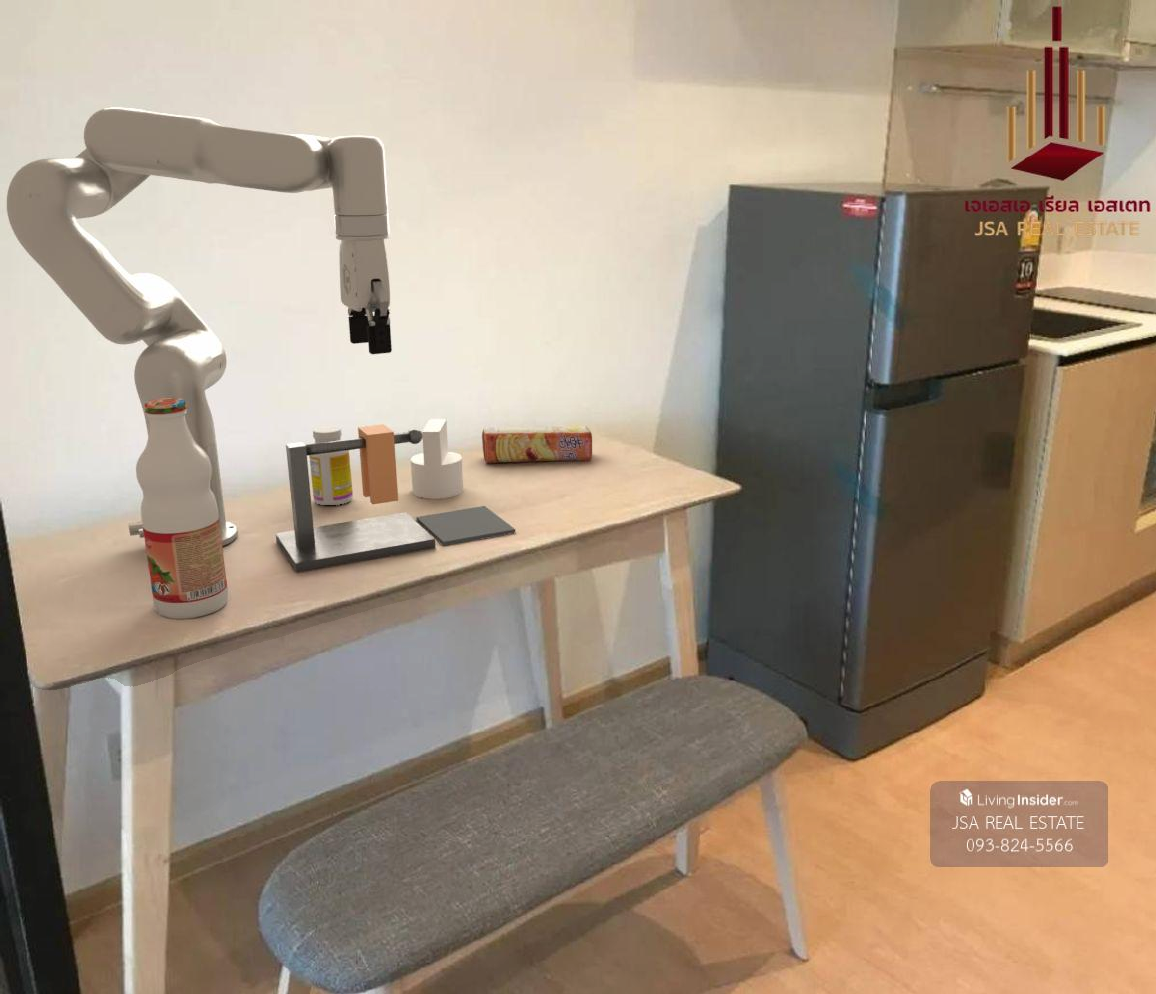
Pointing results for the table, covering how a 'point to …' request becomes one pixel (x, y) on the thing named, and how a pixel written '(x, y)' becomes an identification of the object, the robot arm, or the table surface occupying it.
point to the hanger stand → (347, 538)
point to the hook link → (378, 464)
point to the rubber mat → (464, 525)
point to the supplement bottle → (330, 470)
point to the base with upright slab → (436, 465)
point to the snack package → (536, 444)
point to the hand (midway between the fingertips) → (370, 347)
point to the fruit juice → (180, 517)
